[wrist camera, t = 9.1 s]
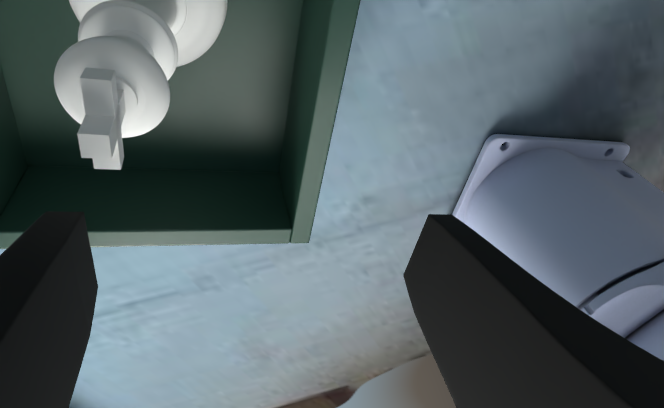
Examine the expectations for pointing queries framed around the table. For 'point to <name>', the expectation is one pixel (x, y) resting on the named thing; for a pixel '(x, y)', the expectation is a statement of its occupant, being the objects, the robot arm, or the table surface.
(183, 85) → the tote
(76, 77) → the chess piece
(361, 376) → the table surface
